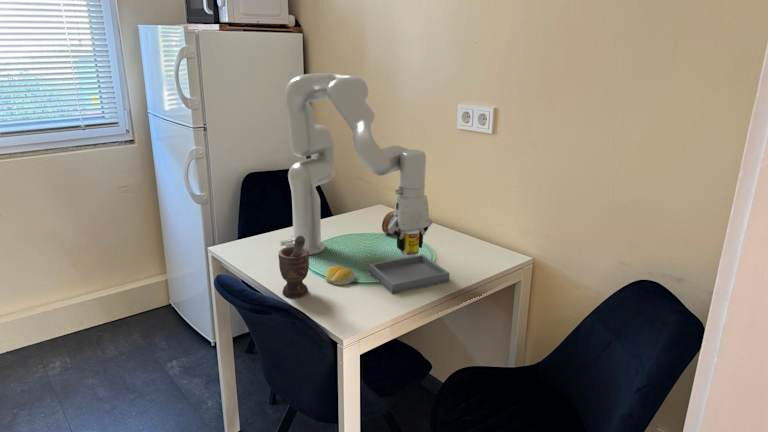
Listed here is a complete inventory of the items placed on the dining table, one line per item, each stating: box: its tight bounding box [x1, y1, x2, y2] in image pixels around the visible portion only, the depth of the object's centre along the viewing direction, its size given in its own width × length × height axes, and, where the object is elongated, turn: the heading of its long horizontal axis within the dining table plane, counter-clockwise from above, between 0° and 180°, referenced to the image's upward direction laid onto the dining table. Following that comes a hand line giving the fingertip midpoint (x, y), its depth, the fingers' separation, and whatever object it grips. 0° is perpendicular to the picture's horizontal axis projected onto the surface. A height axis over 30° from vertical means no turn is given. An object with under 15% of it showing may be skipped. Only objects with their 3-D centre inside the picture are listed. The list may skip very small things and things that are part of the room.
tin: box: [381, 209, 398, 235], centre depth 204 cm, size 15×3×8 cm, turn 144°
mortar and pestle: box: [278, 236, 310, 298], centre depth 151 cm, size 12×9×20 cm
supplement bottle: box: [400, 229, 420, 257], centre depth 162 cm, size 6×6×10 cm
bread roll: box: [324, 265, 355, 286], centre depth 164 cm, size 8×9×4 cm
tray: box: [368, 254, 450, 295], centre depth 166 cm, size 20×16×3 cm
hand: (409, 247), depth 163 cm, fingers closed on supplement bottle, 5 cm apart
